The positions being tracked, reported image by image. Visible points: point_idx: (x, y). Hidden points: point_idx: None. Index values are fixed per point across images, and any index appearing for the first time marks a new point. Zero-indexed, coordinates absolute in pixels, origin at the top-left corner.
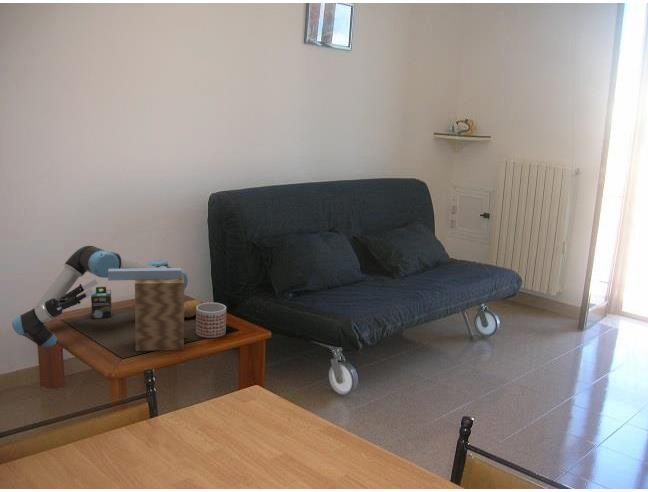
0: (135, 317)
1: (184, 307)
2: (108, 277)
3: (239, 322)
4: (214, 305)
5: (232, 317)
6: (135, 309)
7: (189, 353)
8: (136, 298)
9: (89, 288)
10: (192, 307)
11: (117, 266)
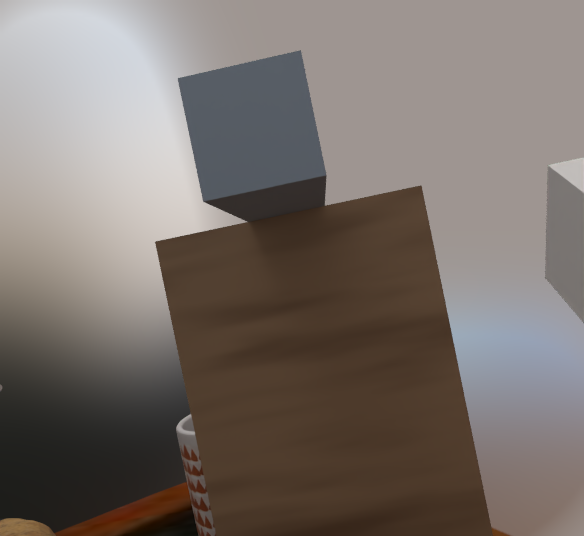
0: (479, 472)
1: None
2: (317, 135)
3: (180, 489)
4: (192, 426)
5: (122, 507)
6: (464, 404)
7: (495, 531)
8: (443, 310)
9: (576, 179)
10: (50, 533)
11: None
